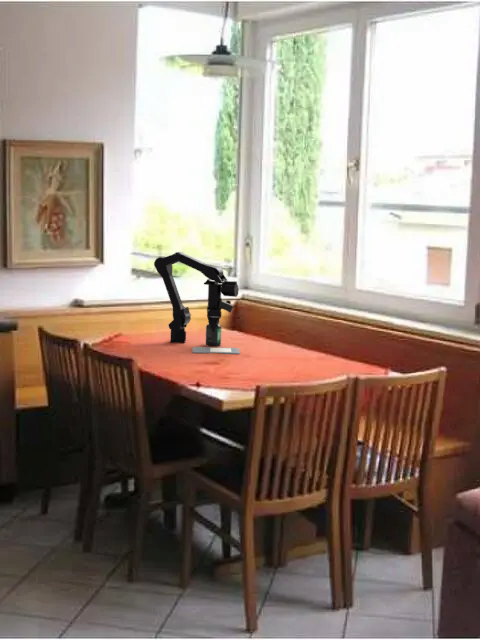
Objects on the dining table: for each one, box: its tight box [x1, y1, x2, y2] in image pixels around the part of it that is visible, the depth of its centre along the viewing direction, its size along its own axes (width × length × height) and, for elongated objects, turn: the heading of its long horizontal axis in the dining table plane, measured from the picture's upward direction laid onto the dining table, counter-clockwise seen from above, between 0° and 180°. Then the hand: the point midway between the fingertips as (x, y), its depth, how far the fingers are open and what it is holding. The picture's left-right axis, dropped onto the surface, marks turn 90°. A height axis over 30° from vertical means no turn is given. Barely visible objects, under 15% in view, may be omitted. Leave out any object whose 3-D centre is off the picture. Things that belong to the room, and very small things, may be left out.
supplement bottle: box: [205, 319, 222, 347], centre depth 421 cm, size 7×7×12 cm
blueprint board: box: [192, 346, 241, 355], centre depth 407 cm, size 20×13×1 cm, turn 92°
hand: (213, 330), depth 421 cm, fingers open, 9 cm apart
